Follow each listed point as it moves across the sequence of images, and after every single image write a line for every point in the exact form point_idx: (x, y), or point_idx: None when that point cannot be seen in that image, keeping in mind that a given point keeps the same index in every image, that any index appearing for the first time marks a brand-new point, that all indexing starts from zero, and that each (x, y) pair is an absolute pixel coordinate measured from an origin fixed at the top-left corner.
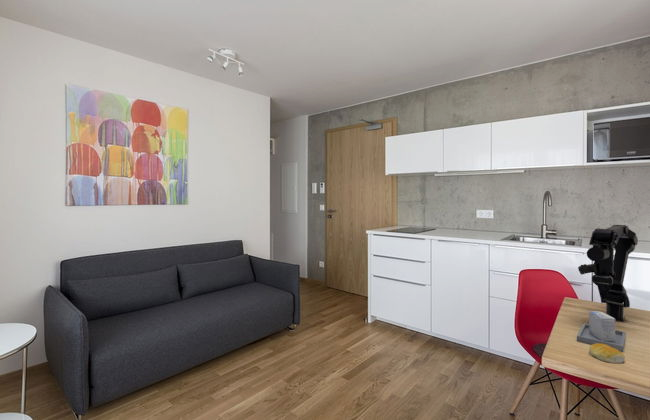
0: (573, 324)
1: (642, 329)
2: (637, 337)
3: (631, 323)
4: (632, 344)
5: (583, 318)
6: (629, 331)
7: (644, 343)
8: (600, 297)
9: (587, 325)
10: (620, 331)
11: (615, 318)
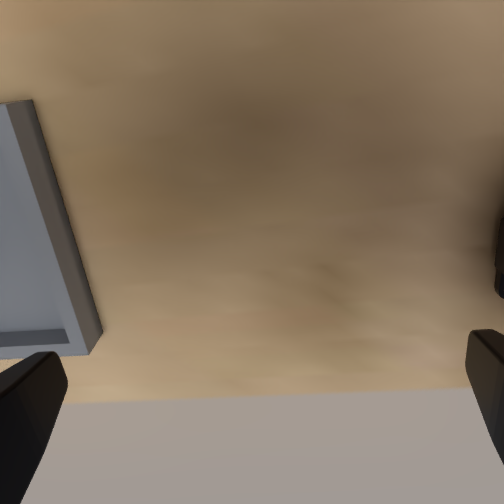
0: (59, 3)
1: (379, 383)
2: (167, 375)
3: (493, 329)
4: (7, 366)
5: (360, 21)
6: (260, 337)
7: (87, 402)
8: (24, 360)
9: (1, 140)
10: (70, 334)
11: (498, 254)
